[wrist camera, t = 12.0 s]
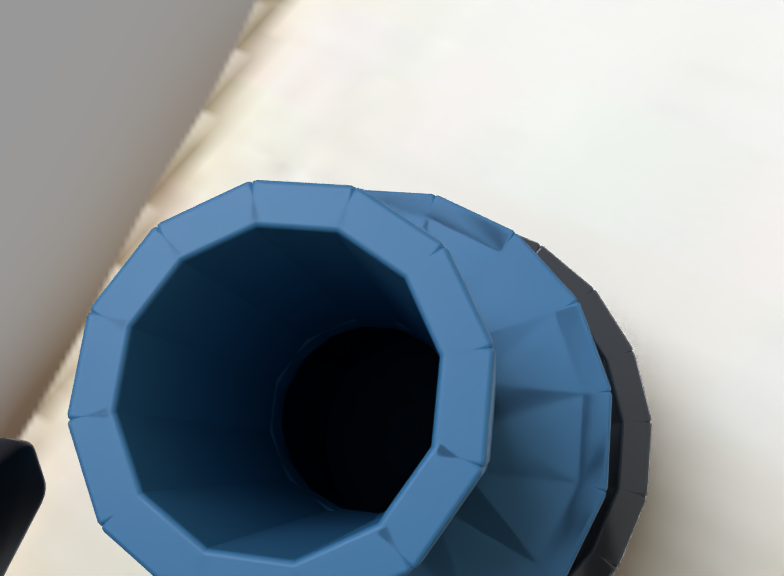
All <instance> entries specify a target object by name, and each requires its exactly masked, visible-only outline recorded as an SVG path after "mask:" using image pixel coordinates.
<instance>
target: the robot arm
mask: <svg viewBox="0 0 784 576" xmlns="http://www.w3.org/2000/svg"><path fill="white" fill-rule="evenodd" d="M45 490H46V483H45V479H44V476H43V473H42V470H41V467H40V464H39V461H38V457H37V454H36V451H35V449H34V447H33V445H32V444H31V443H30V442H27V441H23V440H18V439H13V438H6V437H3V438H0V576H4V575H5V573H6V571H7V569H8V567H9V565H10V563H11V561H12V559H13V557H14V555H15V553H16V551H17V549H18V548H19V546H20V544H21V542H22V540H23V538H24V536H25V534H26V532H27V530H28V528H29V526H30V524H31V523H32V521H33V519H34V517H35V515H36V513H37V511H38V509H39V507H40V505H41V503H42V501H43V498H44V495H45Z"/></svg>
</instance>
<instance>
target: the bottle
mask: <svg viewBox="0 0 784 576" xmlns="http://www.w3.org/2000/svg"><path fill="white" fill-rule="evenodd" d="M91 311H92V313H89V314H88V316H87V320H86V325H85V330H84V335H83V340H82V345H81V350H80V355H79V360H78V365H77V370H76V375H75V380H74V385H73V390H72V395H71V400H70V405H69V410H68V418H69V419H70V421H69V422H68V426H69V430H70V433H71V436H72V439H73V443H74V446H75V449H76V452H77V456H78V459H79V462H80V465H81V469H82V472H83V475H84V478H85V482H86V485H87V488H88V492H89V495H90V498H91V501H92V505H93V508H94V511H95V514H96V518H97V521H98V523H99V524H100V525H101V526H103V527H102V529H103V531H104V532H105V533H106V534H107V535H108V536H109V537H111V538H112V539H113V540H114V541H115V542H116V543H117V544H118V545H120V546H121V547H122V548H123V549H124V550H125V551H126V552H127V553H128V554H130V555H131V556H132V557H133V558H134V559H135V560H136V561H137V562H139V563H140V564H141V565H142V566H143V567H144V568H145V569H146V570H147V571H149V572H150V573H151V574H152V575H153V576H567V575H568V573H569V571H570V569H571V567H572V565H573V562H574V560H575V558H576V556H577V554H578V552H579V550H580V548H581V546H582V544H583V542H584V540H585V538H586V536H587V534H588V532H589V529H590V527H591V525H592V523H593V521H594V519H595V517H596V515H597V513H598V511H599V509H600V507H601V505H602V503H603V501H604V499H605V496H606V492H605V491H606V490H607V488H608V472H609V451H610V429H611V408H612V394H611V392H610V391H611V387H610V384H609V381H608V378H607V376H606V373H605V370H604V367H603V365H602V362H601V359H600V357H599V354H598V351H597V348H596V346H595V343H594V340H593V337H592V335H591V332H590V329H589V326H588V324H587V321H586V318H585V315H584V313H583V310H582V307H581V304H580V303H579V302H577V298H576V297H575V296H574V294H573V293H572V292H571V291H570V290H569V289H568V288H567V287H566V286H565V285H564V284H563V282H562V281H561V280H560V279H559V278H558V277H557V276H556V275H555V274H554V273H553V272H552V271H551V269H550V268H549V267H548V266H547V265H546V264H545V263H544V262H543V261H542V260H541V259H540V257H539V256H538V255H537V254H536V253H535V252H534V251H533V250H532V249H531V248H530V247H529V245H528V244H527V243H526V242H525V241H524V240H523V239H522V238H521V237H520V236H519V235H518V234H515V232H514V231H513V230H511V229H508V228H506V227H504V226H502V225H500V224H498V223H496V222H494V221H491V220H489V219H487V218H485V217H483V216H481V215H479V214H477V213H474V212H472V211H470V210H468V209H466V208H464V207H462V206H460V205H457V204H455V203H453V202H451V201H449V200H447V199H445V198H443V197H440V196H435V195H433V194H422V193H404V192H387V191H370V190H363V189H359V188H357V189H356V188H355V187H353V186H351V185H335V184H317V183H300V182H282V181H265V180H256V181H253V183H252V182H246V183H244V184H242V185H240V186H237V187H235V188H233V189H231V190H229V191H227V192H225V193H223V194H220V195H218V196H216V197H214V198H212V199H210V200H208V201H206V202H203V203H201V204H199V205H197V206H195V207H193V208H191V209H188V210H186V211H184V212H182V213H180V214H178V215H176V216H174V217H171V218H169V219H167V220H165V221H163V222H161V223H160V224H158V228H157V227H155V228H153V229H152V230H151V231H150V233H149V234H148V235H147V236H146V238H145V239H144V240H143V241H142V243H141V244H140V245H139V247H138V248H137V249H136V250H135V252H134V253H133V254H132V256H131V257H130V258H129V259H128V261H127V262H126V263H125V265H124V266H123V267H122V268H121V270H120V271H119V272H118V274H117V275H116V276H115V277H114V279H113V280H112V281H111V282H110V284H109V285H108V286H107V288H106V289H105V290H104V291H103V293H102V294H101V295H100V297H99V298H98V299H97V300H96V302H95V303H94V304H93V306H92V308H91Z"/></svg>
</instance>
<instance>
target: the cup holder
mask: <svg viewBox="0 0 784 576" xmlns="http://www.w3.org/2000/svg"><path fill="white" fill-rule="evenodd" d="M519 236H520V235H519ZM520 237H521V238H522V239H523V240H524V241H525V242H526V243H527V244H528V245H529V247H530V248H531V249H532V250H533V251H534V252H535V253H536V254H537V255H538V256H539V257H540V259H541V260H542V261H543V262H544V263H545V264H546V265H547V266H548V267H549V268H550V269H551V271H552V272H553V273H554V274H555V275H556V276H557V277H558V278H559V279H560V280H561V281H562V282H563V284H564V285H565V286H566V287H567V288H568V289H569V290H570V291H571V292H572V293H573V294H574V296H575V297H576V298H577V302H579V303H580V304H581V307H582V310H583V313H584V315H585V318H586V321H587V324H588V326H589V329H590V332H591V335H592V337H593V340H594V343H595V346H596V348H597V351H598V354H599V357H600V359H601V362H602V365H603V367H604V370H605V373H606V376H607V378H608V381H609V384H610V387H611V391H610V392H611V394H612V408H611V429H610V451H609V472H608V488H607V490H606V491H605V492H606V496H605V499H604V501H603V503H602V505H601V507H600V509H599V511H598V513H597V515H596V517H595V519H594V521H593V523H592V525H591V527H590V529H589V532H588V534H587V536H586V538H585V540H584V542H583V544H582V546H581V548H580V550H579V552H578V554H577V556H576V558H575V560H574V562H573V565H572V567H571V569H570V571H569V573H568V575H567V576H612V575H613V574H614V573H615V572H616V569H617V568H616V567H618V566H619V565H620V563H621V561H622V558H623V556H624V554H625V551H626V549H627V546H628V544H629V541H630V539H631V537H632V534H633V532H634V529H635V527H636V524H637V522H638V519H639V517H640V515H641V512H642V510H643V507H644V505H645V502H646V498H645V496H647V494H648V482H649V466H650V451H651V435H652V424H651V422H650V421H651V415H650V411H649V407H648V403H647V400H646V396H645V392H644V388H643V384H642V380H641V377H640V373H639V369H638V365H637V361H636V357H635V354H634V352H633V351H632V350H633V349H632V346H631V345H630V343H629V342H628V340H627V338H626V337H625V335H624V334H623V332H622V331H621V329H620V327H619V326H618V324H617V323H616V321H615V320H614V318H613V316H612V315H611V313H610V312H609V310H608V309H607V307H606V306H605V304H604V302H603V301H602V299H601V298H600V296H599V295H598V293H597V291H595V290H593V288H592V286H590V285H589V284H588V283H587V282H586V281H584V280H583V279H582V278H581V277H580V276H578V275H577V274H576V273H575V272H574V271H573V270H571V269H570V268H569V267H568V266H567V265H565V264H564V263H563V262H562V261H561V260H559V259H558V258H557V257H556V256H555V255H553V254H552V253H551V252H550V251H549V250H547V249H546V248H545V247H544V246H540V245H539V244H538V243H537V242H534V241H532V240H529V239H527V238H525V237H522V236H520Z"/></svg>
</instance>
